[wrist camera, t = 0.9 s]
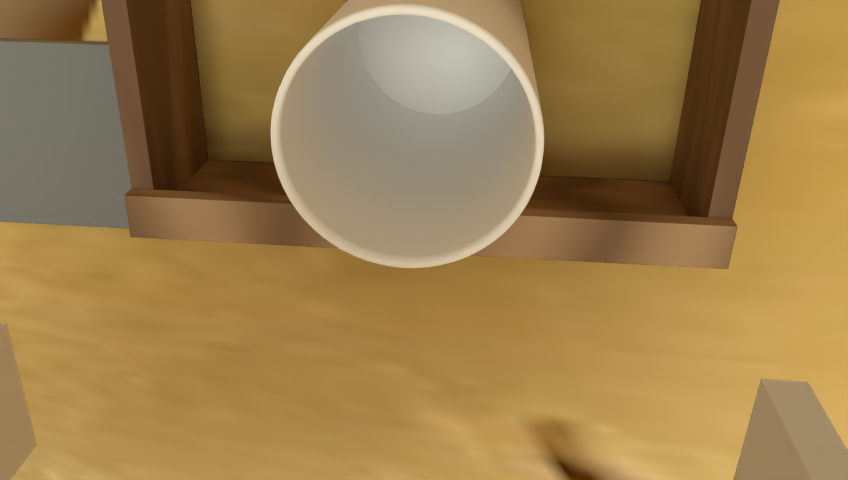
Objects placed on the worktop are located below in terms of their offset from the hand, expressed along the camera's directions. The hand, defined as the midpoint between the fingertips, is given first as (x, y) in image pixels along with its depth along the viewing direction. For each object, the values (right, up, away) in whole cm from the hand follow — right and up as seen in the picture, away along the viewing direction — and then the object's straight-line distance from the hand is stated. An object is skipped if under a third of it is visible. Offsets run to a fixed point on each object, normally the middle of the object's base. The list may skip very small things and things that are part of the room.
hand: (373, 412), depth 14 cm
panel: (-17, +9, +27) cm, 34 cm away
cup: (+2, +13, +24) cm, 27 cm away
